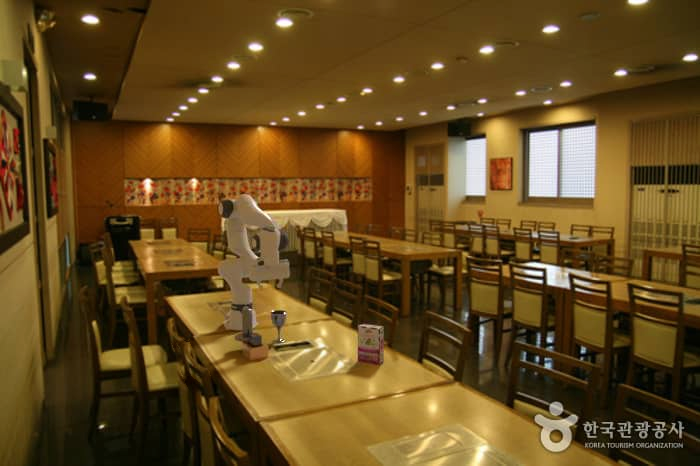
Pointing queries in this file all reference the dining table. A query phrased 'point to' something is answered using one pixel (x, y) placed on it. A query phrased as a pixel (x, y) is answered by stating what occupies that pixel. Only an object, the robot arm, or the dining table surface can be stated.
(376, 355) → the candy bar box
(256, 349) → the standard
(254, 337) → the dark brown upright block
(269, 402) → the dining table surface
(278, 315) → the wine glass
